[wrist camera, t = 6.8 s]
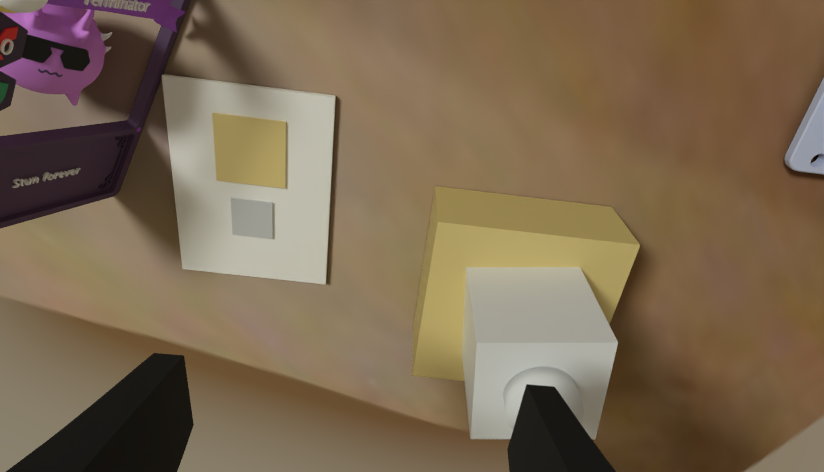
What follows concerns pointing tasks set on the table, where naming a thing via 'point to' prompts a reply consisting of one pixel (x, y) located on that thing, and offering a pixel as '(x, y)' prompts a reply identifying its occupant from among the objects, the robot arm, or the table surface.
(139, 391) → the robot arm
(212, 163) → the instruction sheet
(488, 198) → the base brick
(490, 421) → the top brick
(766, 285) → the table surface
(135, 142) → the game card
